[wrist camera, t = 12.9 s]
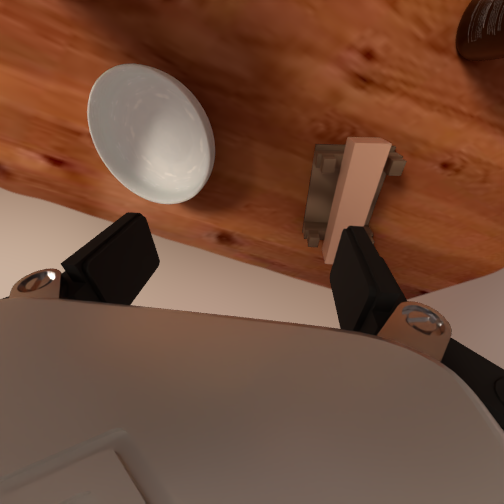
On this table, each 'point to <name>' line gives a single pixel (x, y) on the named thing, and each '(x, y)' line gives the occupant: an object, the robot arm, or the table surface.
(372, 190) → the pink rectangular bar
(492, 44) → the supplement bottle
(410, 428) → the robot arm
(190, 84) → the table surface
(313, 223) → the plate with corner blocks
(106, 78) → the cereal bowl
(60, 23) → the table surface
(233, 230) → the table surface
